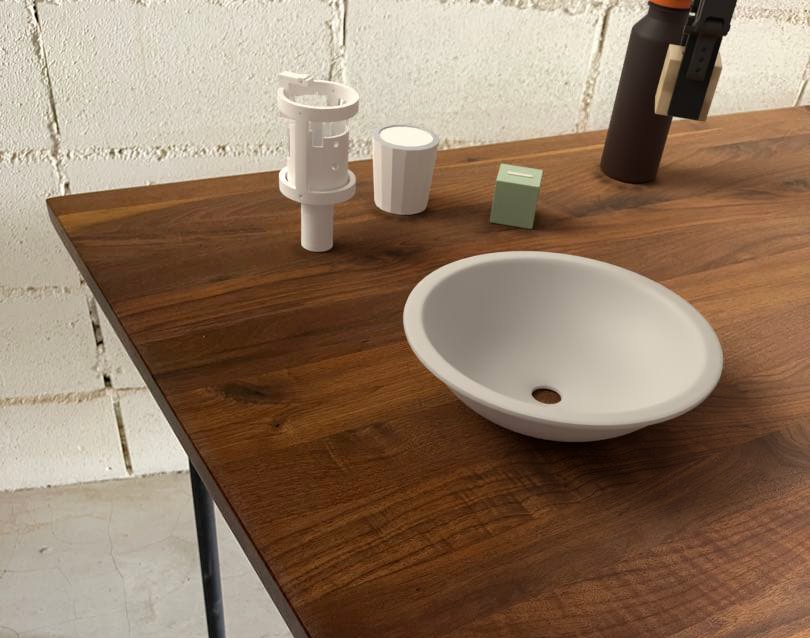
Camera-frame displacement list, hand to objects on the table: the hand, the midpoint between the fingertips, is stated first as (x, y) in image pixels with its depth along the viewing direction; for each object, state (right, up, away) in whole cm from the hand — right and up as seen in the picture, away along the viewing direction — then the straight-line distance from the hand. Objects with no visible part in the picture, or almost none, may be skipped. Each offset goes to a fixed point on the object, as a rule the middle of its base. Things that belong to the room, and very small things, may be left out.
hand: (682, 106), depth 80 cm
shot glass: (-25, -3, +15) cm, 30 cm away
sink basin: (-14, -28, -9) cm, 32 cm away
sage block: (-13, -5, +14) cm, 20 cm away
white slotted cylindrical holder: (-34, -10, +7) cm, 36 cm away
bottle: (+1, +4, +26) cm, 26 cm away
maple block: (0, 0, 0) cm, 0 cm away
